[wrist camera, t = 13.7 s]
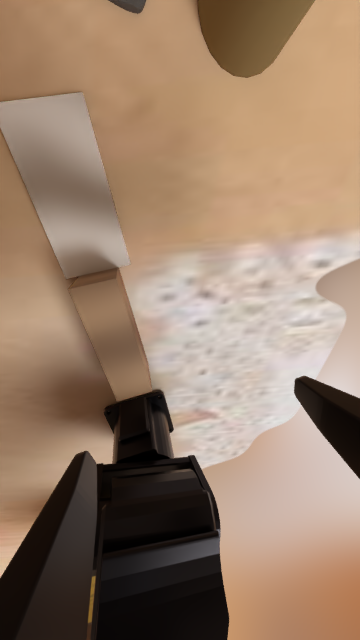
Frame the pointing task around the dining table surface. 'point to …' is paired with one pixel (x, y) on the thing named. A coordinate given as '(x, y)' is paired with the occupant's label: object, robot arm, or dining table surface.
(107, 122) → the dining table surface
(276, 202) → the dining table surface
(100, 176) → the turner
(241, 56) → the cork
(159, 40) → the dining table surface
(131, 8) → the cell phone
